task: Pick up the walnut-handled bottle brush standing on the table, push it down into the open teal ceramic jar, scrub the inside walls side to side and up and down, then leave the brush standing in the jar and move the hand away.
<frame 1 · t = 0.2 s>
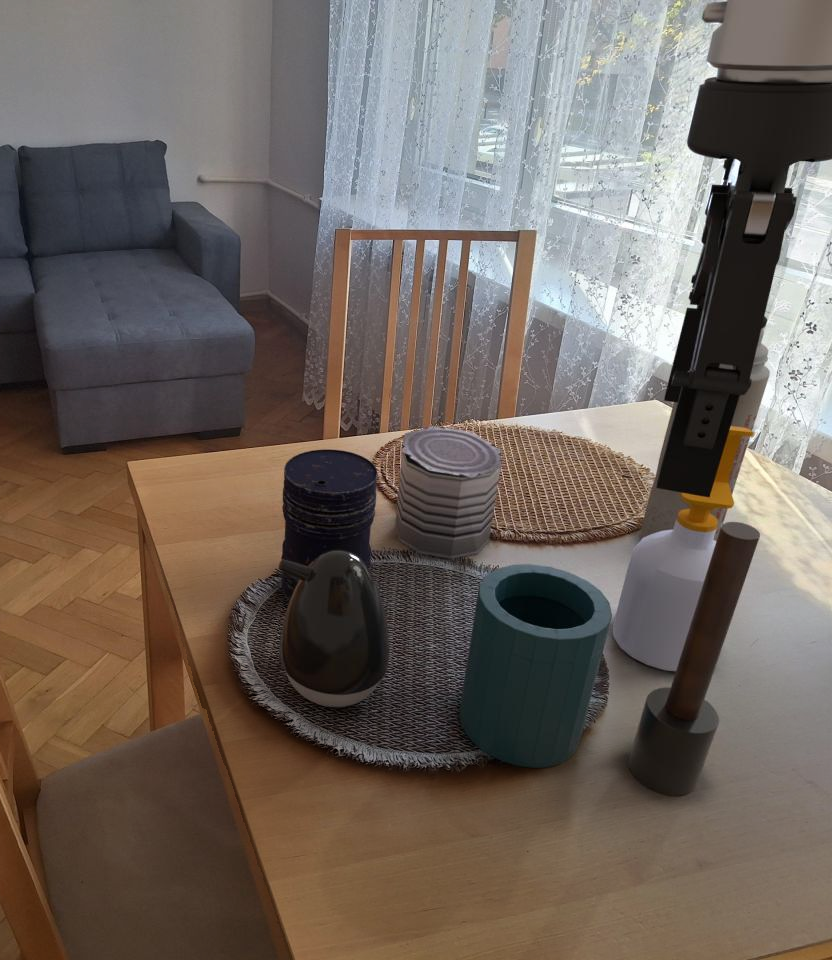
hand: (684, 442, 55), 32 cm above the table, tool pointing down, fingers open, 13 cm apart
soap bottle: (660, 645, 86), on the table
bottle brush: (662, 771, 72), on the table
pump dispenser: (330, 687, 83), on the table
thermos bottle: (675, 543, 102), on the table
can: (440, 534, 106), on the table
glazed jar: (518, 724, 77), on the table
storage jar: (324, 588, 97), on the table
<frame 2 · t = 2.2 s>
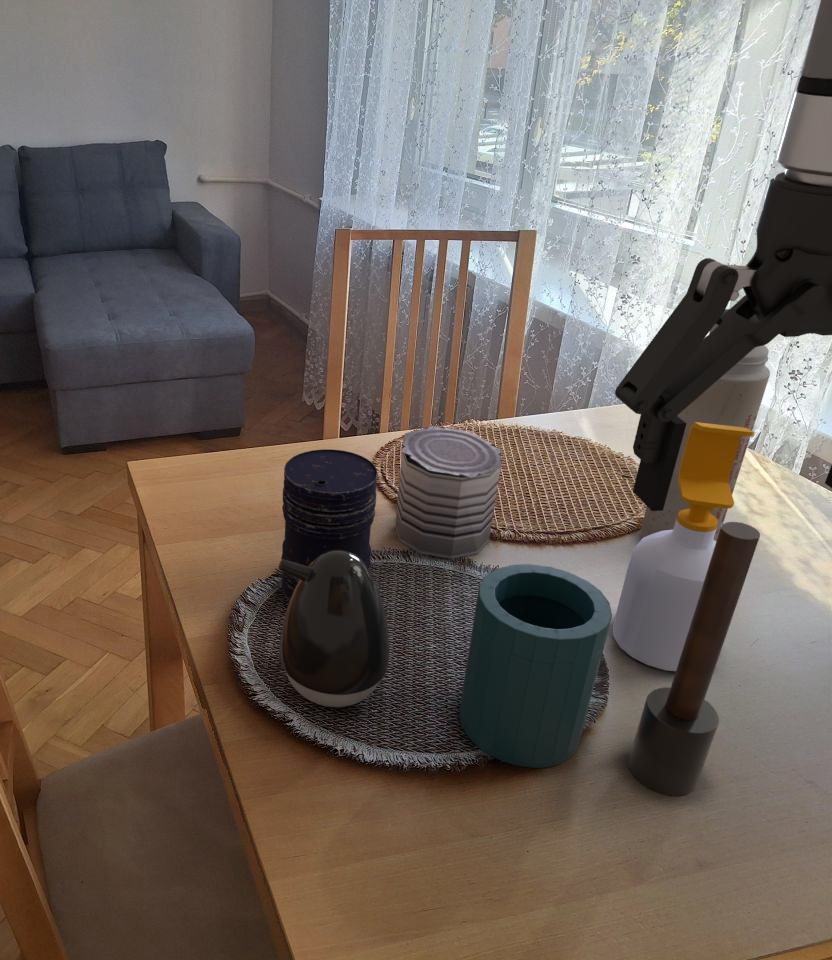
hand: (745, 497, 59), 27 cm above the table, tool pointing down, fingers open, 13 cm apart
nothing on the table moved.
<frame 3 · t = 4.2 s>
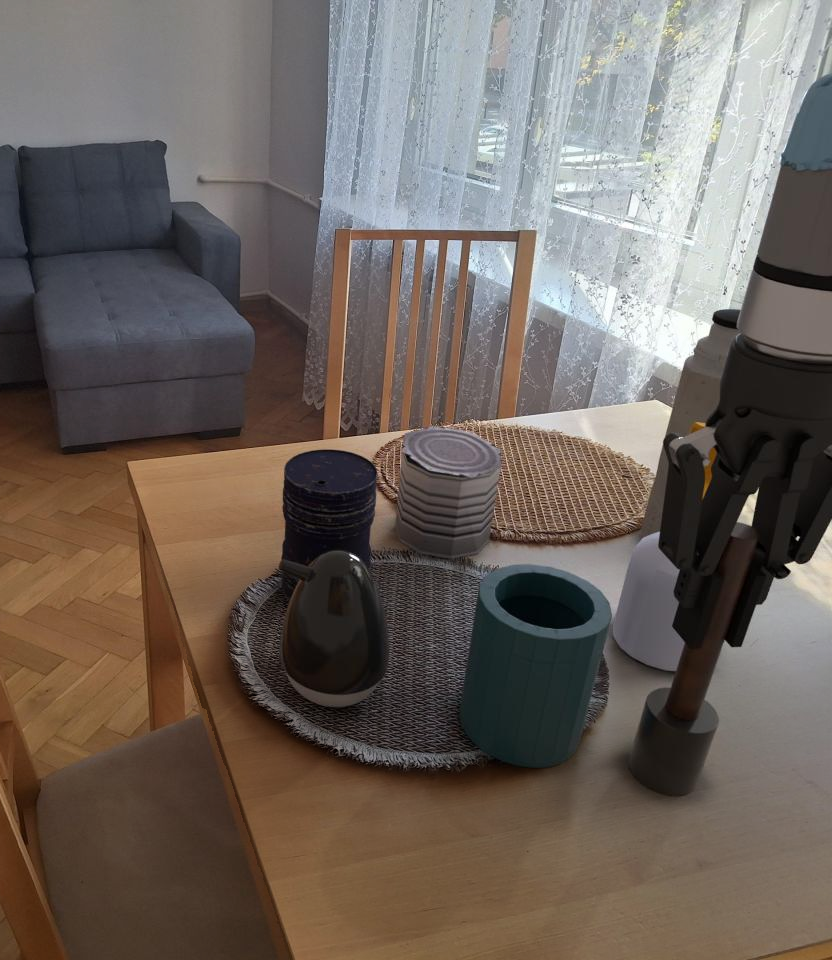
hand: (706, 636, 65), 15 cm above the table, tool pointing down, fingers closed on bottle brush, 2 cm apart
bottle brush: (662, 771, 72), on the table, touching gripper
everything else where it was.
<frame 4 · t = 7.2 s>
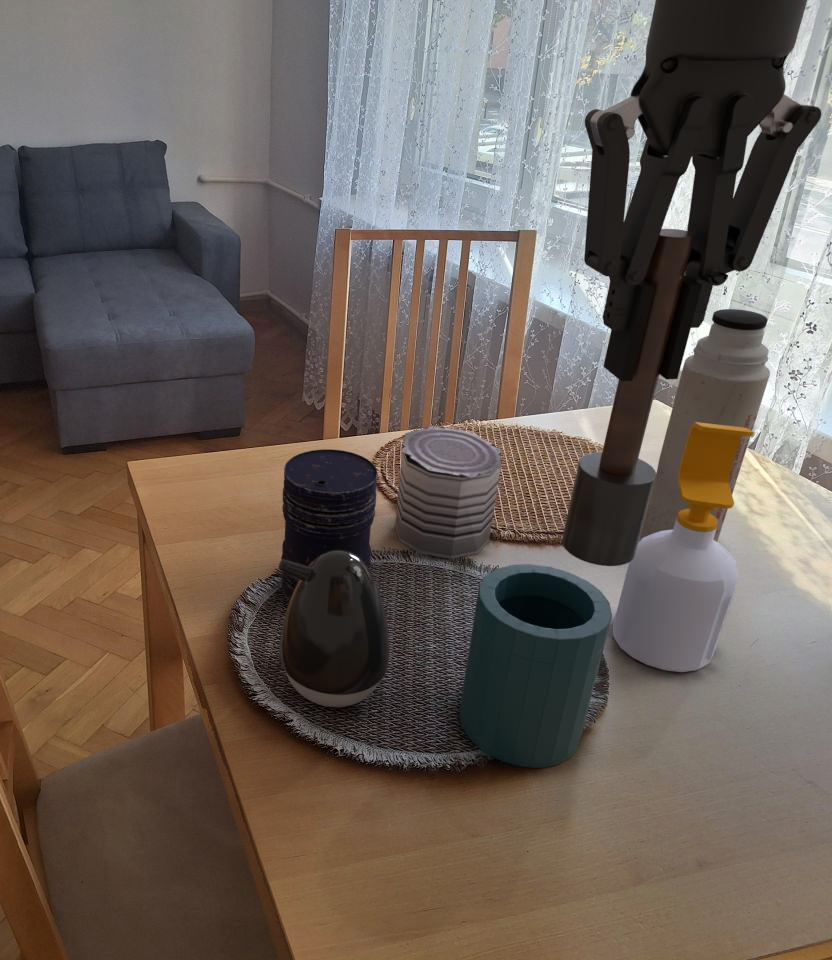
hand: (639, 372, 59), 35 cm above the table, tool pointing down, fingers closed on bottle brush, 2 cm apart
bottle brush: (597, 547, 66), point 20 cm above the table, touching gripper
everything else where it was.
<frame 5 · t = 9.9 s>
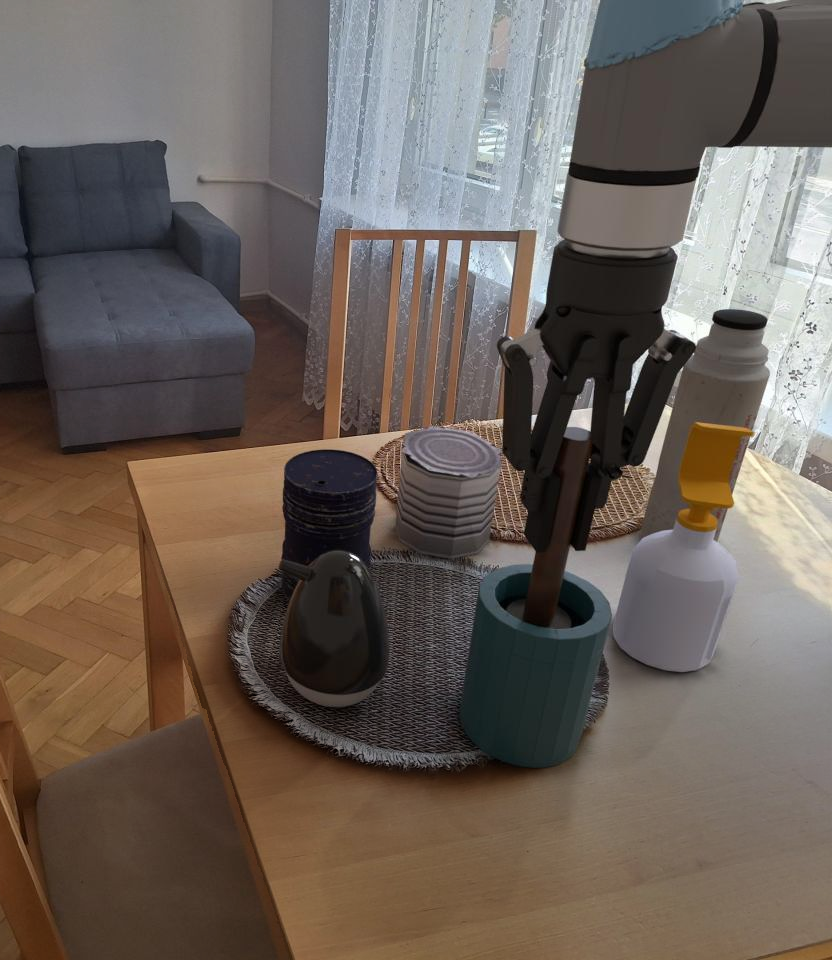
hand: (554, 541, 68), 20 cm above the table, tool pointing down, fingers closed on bottle brush, 2 cm apart
bottle brush: (525, 680, 75), point 5 cm above the table, touching gripper
everything else where it was.
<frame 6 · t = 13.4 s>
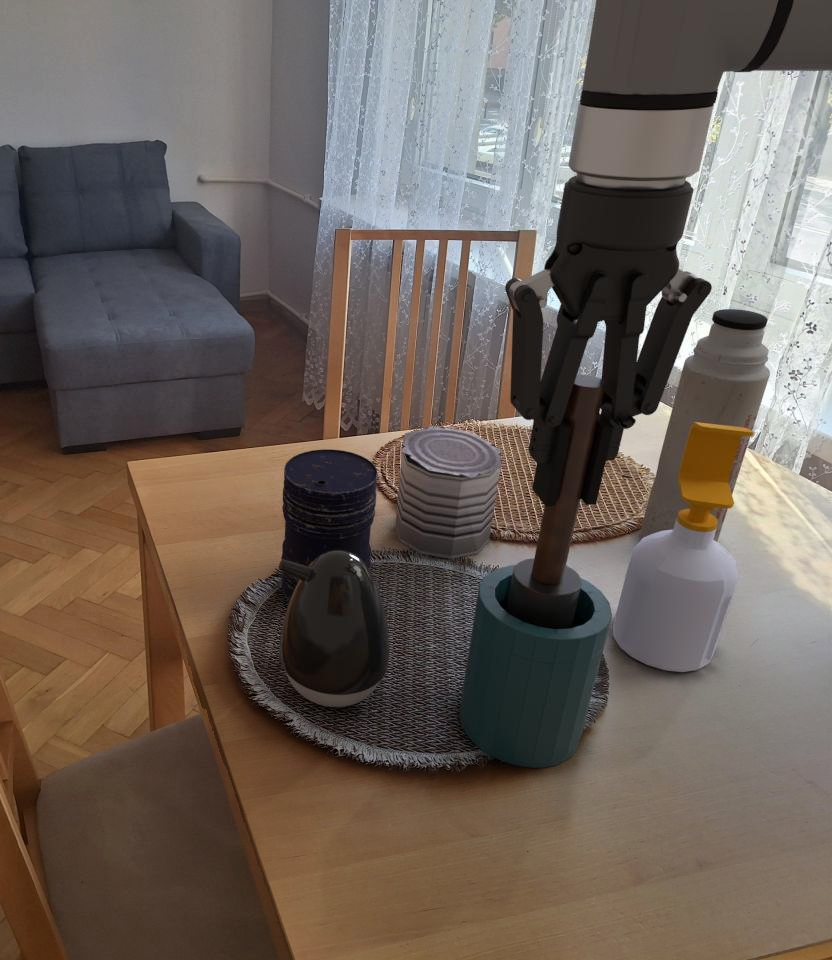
hand: (563, 496, 66), 24 cm above the table, tool pointing down, fingers closed on bottle brush, 2 cm apart
bottle brush: (533, 643, 73), point 9 cm above the table, touching gripper
everything else where it was.
when the fingers open (15 cm above the table, at t = 15.6 s): bottle brush stays where it is, resting on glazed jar.
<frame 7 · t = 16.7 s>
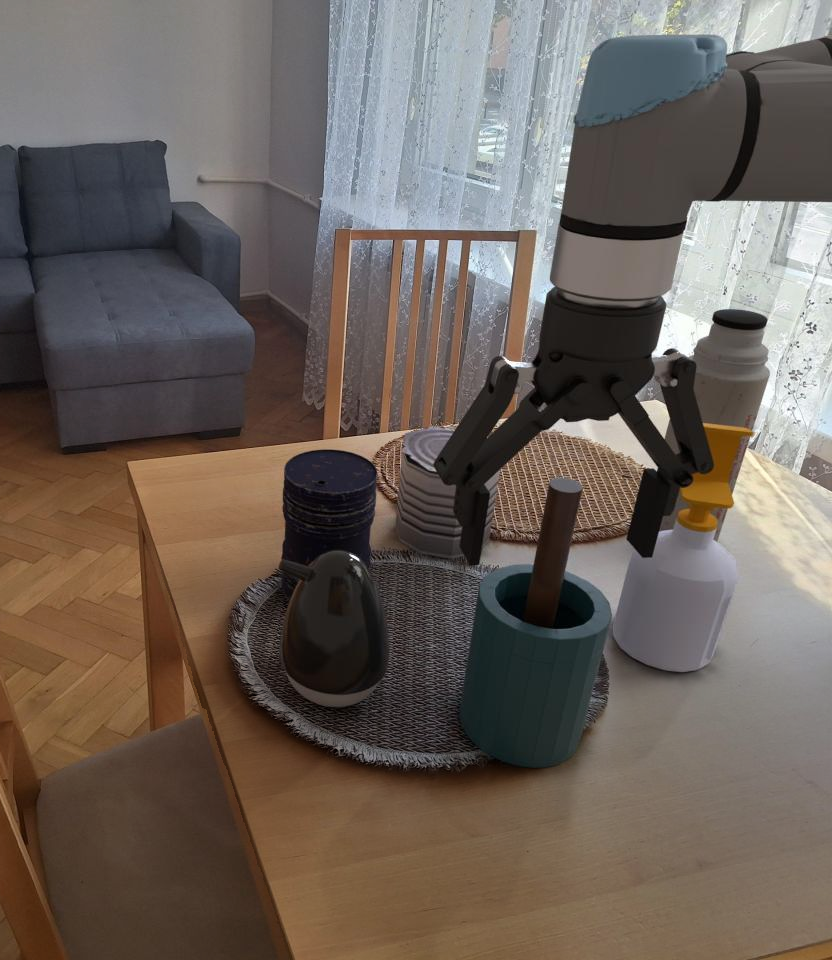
hand: (554, 552, 68), 19 cm above the table, tool pointing down, fingers open, 13 cm apart
bottle brush: (518, 717, 77), point 1 cm above the table, touching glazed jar
everything else where it was.
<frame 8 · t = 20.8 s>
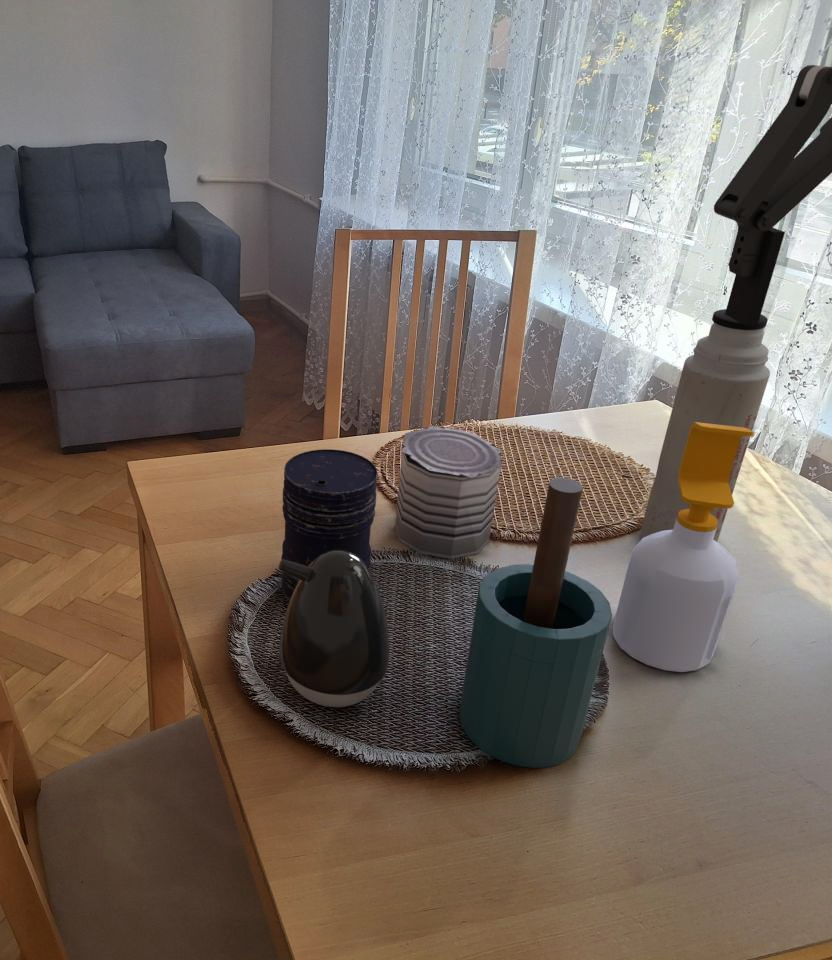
nothing on the table moved.
at the end: bottle brush inside the target area in the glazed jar (0.1 cm from its centre), point 0.8 cm above the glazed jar's base; the gripper is holding nothing; bottle brush moved 11.8 cm from its start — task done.
